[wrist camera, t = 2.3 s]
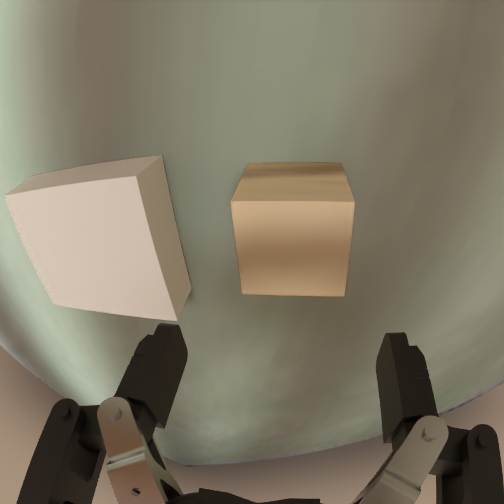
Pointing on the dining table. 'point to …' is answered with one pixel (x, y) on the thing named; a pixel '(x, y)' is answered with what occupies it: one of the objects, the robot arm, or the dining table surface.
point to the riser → (105, 237)
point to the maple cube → (293, 228)
